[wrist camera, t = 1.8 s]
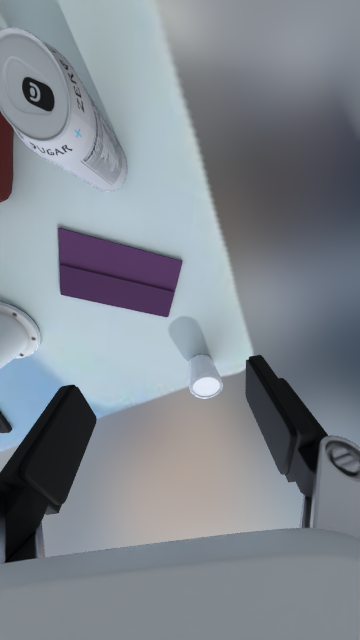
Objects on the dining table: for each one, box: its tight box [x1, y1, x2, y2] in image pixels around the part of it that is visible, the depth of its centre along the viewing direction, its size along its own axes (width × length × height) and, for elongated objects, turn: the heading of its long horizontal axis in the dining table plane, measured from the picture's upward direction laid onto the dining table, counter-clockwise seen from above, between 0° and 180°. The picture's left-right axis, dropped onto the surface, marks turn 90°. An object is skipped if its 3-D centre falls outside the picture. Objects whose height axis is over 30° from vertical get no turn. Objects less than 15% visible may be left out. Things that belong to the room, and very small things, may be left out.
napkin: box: [58, 228, 182, 317], centre depth 31 cm, size 20×11×1 cm, turn 75°
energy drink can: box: [0, 27, 127, 192], centre depth 18 cm, size 6×6×15 cm
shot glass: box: [189, 354, 223, 398], centre depth 38 cm, size 7×7×7 cm
